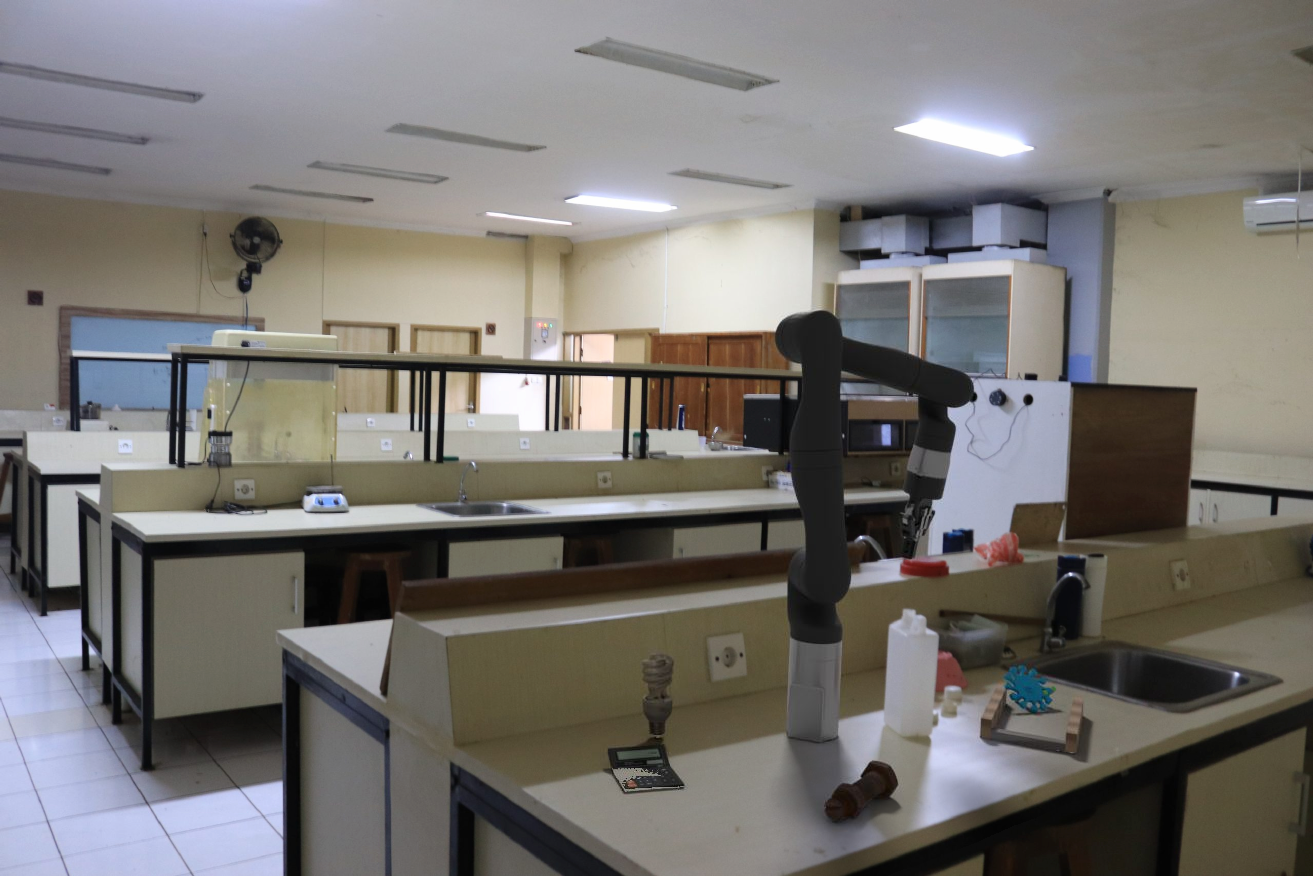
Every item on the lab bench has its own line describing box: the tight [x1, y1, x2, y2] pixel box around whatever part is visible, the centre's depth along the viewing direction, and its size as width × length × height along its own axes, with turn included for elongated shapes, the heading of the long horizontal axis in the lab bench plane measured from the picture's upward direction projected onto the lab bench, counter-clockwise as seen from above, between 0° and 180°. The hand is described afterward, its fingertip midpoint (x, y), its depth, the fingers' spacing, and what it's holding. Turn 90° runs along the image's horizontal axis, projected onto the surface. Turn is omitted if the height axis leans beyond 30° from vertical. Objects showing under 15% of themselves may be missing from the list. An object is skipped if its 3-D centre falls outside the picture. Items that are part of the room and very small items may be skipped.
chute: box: [979, 684, 1085, 754], centre depth 184 cm, size 24×16×4 cm, turn 154°
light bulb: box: [641, 651, 675, 736], centre depth 170 cm, size 6×6×15 cm
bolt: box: [823, 760, 899, 822], centre depth 144 cm, size 6×5×15 cm
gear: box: [1003, 664, 1057, 714], centre depth 196 cm, size 11×6×10 cm
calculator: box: [607, 744, 685, 789], centre depth 153 cm, size 9×12×3 cm
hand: (907, 557), depth 189 cm, fingers closed
